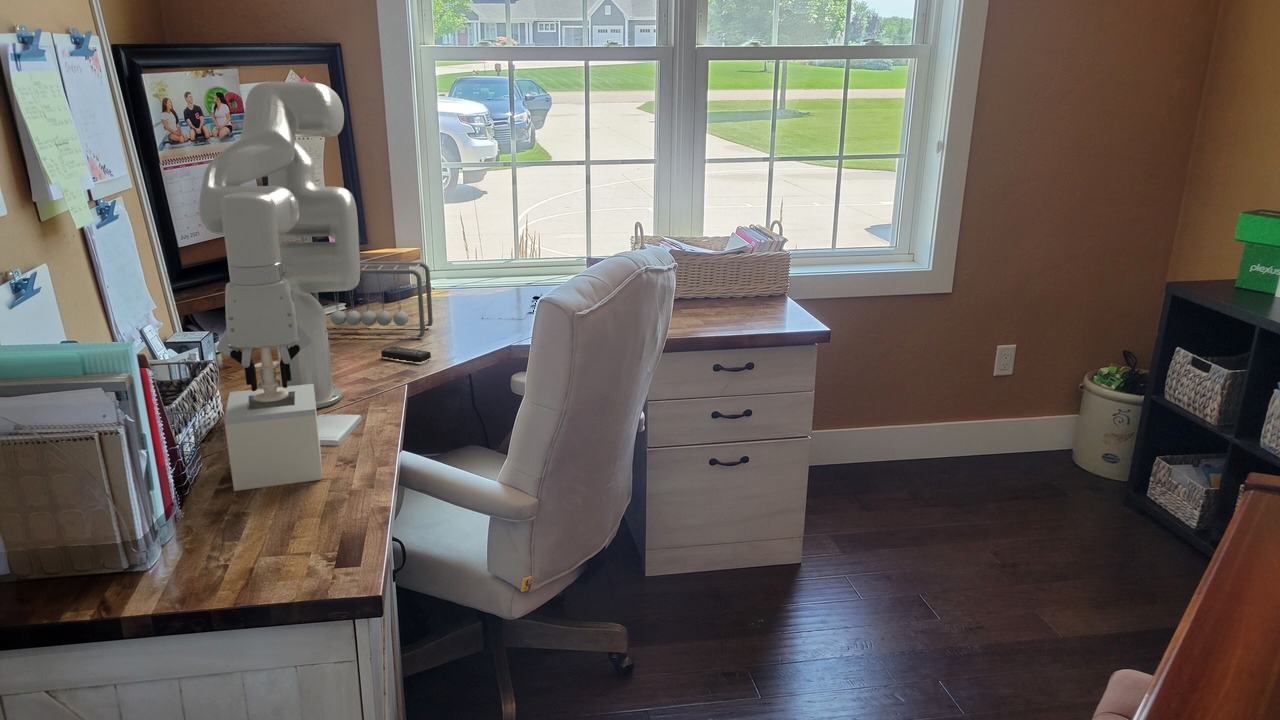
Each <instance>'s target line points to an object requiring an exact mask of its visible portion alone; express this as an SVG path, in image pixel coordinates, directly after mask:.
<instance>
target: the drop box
mask: <svg viewBox="0 0 1280 720" xmlns="http://www.w3.org/2000/svg"><path fill="white" fill-rule="evenodd" d="M276 387H277V388H282V389H285V390H287V391H288V396H287V397H286V398H284V399H281V400H278V401H273V402H259V401H256V400H254V398H253V395H254V394H255V393H256V392H258V391H261V390H263V389H264V388H257V390H256V391H252V389H247V390H246V389H245V390H236V391H229V393H228V394H229V395H228V399H227V404H226V408H225V412H224V417H223V420H224V421H223V422H224V428H225V435H226V437H225V438H226V442H227V451H228V455H229V457H228V458H229V465H230V471H231V480H232V486H233V492H236V491H243V490H244V491H245V490H252V489H259V488H267V487H275V486H283V485H290V484H296V483H305V482H312V481H318V480H319V481H321V480H323V467H322V465H323V464H322V452H321V445H320V440H319V430H318V421H317V416H318V413H317V409H316V402H315V392H314V384H307V385H296V386H287V388H284V387H282V386H276Z"/></svg>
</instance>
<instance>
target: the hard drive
mask: <svg viewBox="0 0 1280 720" xmlns="http://www.w3.org/2000/svg"><path fill="white" fill-rule="evenodd" d="M362 418H363V417H362V415H360V414H331V413H330V414H329V413H328V414H326V413H325V414H322V413H321V414H319V415H318V414H317V421H318V430H319V440H320V446H337V447H338V446H339V445H340V444H342V442H343V441H344V440H345V439H346V438H347V437H348V436H349V435H350V433H352V432H353V431H354V429H355V428H356V427H357V426H358V425H359V423H361V422H362Z"/></svg>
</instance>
